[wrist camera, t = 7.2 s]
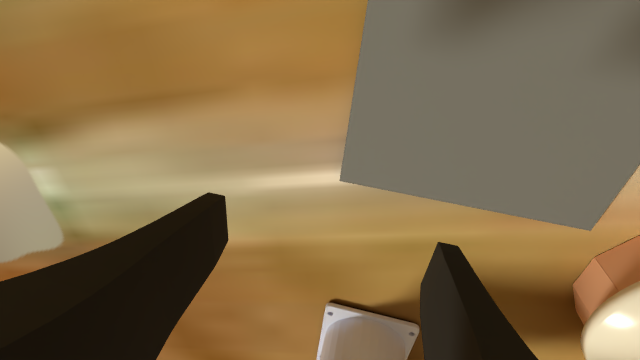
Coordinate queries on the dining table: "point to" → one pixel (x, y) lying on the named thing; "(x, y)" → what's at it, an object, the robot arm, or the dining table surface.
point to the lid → (614, 328)
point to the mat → (499, 104)
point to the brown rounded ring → (607, 277)
